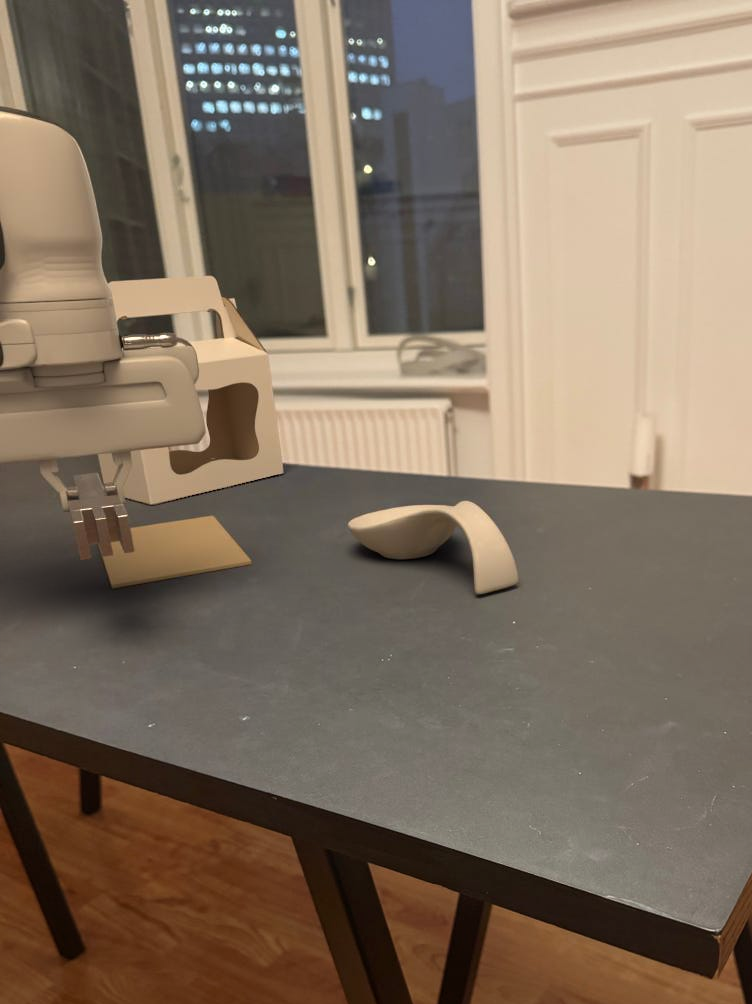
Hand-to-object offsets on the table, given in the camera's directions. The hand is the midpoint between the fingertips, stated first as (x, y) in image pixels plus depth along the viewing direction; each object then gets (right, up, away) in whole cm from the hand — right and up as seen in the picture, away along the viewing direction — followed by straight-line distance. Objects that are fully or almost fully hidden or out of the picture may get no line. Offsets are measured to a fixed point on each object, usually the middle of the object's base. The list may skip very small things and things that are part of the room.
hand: (94, 507), depth 79 cm
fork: (0, -2, 0) cm, 2 cm away
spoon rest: (+29, -4, +15) cm, 33 cm away
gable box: (-8, +11, +55) cm, 57 cm away
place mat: (-2, -1, +24) cm, 24 cm away
